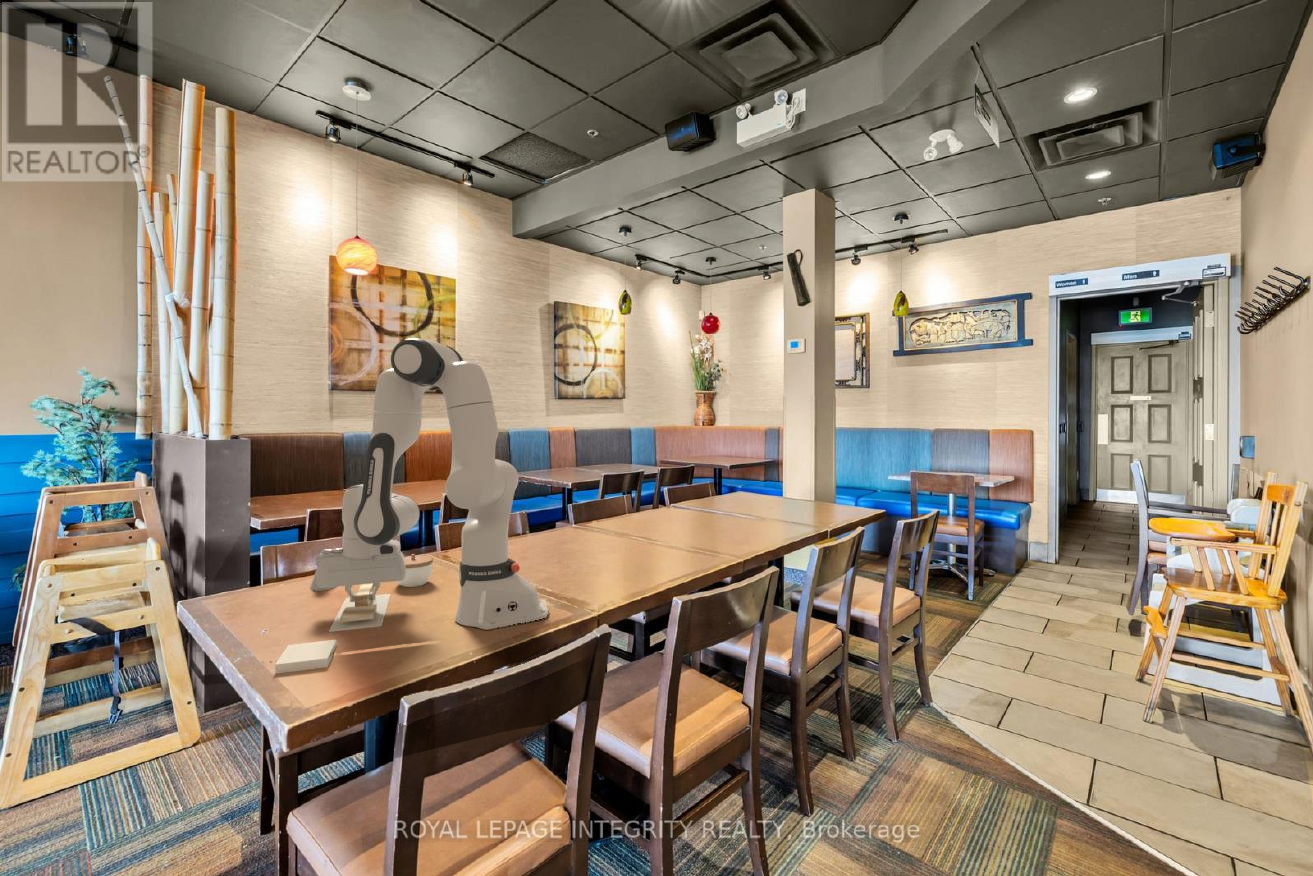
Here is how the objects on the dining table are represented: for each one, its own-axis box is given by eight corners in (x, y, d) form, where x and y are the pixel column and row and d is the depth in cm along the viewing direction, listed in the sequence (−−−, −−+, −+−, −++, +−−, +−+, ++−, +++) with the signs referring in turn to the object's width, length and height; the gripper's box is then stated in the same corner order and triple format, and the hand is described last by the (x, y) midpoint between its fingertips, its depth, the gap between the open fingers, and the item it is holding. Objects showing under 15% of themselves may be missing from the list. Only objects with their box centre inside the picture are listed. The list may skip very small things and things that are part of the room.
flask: (343, 588, 167) (342, 554, 166) (317, 594, 161) (317, 559, 160) (329, 584, 171) (329, 550, 170) (304, 590, 165) (303, 555, 164)
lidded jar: (429, 578, 177) (429, 548, 176) (436, 587, 168) (436, 555, 167) (391, 584, 171) (390, 552, 171) (396, 593, 162) (395, 560, 162)
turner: (353, 594, 155) (353, 583, 155) (382, 592, 157) (382, 581, 157) (339, 622, 134) (339, 609, 134) (373, 618, 137) (373, 606, 137)
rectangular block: (336, 639, 124) (327, 658, 115) (336, 649, 124) (327, 668, 115) (288, 645, 121) (275, 664, 112) (288, 655, 121) (275, 675, 112)
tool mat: (390, 595, 160) (390, 593, 160) (381, 628, 136) (381, 626, 136) (346, 599, 156) (346, 597, 156) (328, 634, 132) (328, 631, 132)
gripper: (312, 553, 140) (313, 609, 140) (404, 546, 147) (405, 600, 147) (318, 547, 146) (319, 601, 146) (406, 541, 153) (406, 593, 153)
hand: (363, 600), depth 147 cm, fingers closed on turner, 3 cm apart
